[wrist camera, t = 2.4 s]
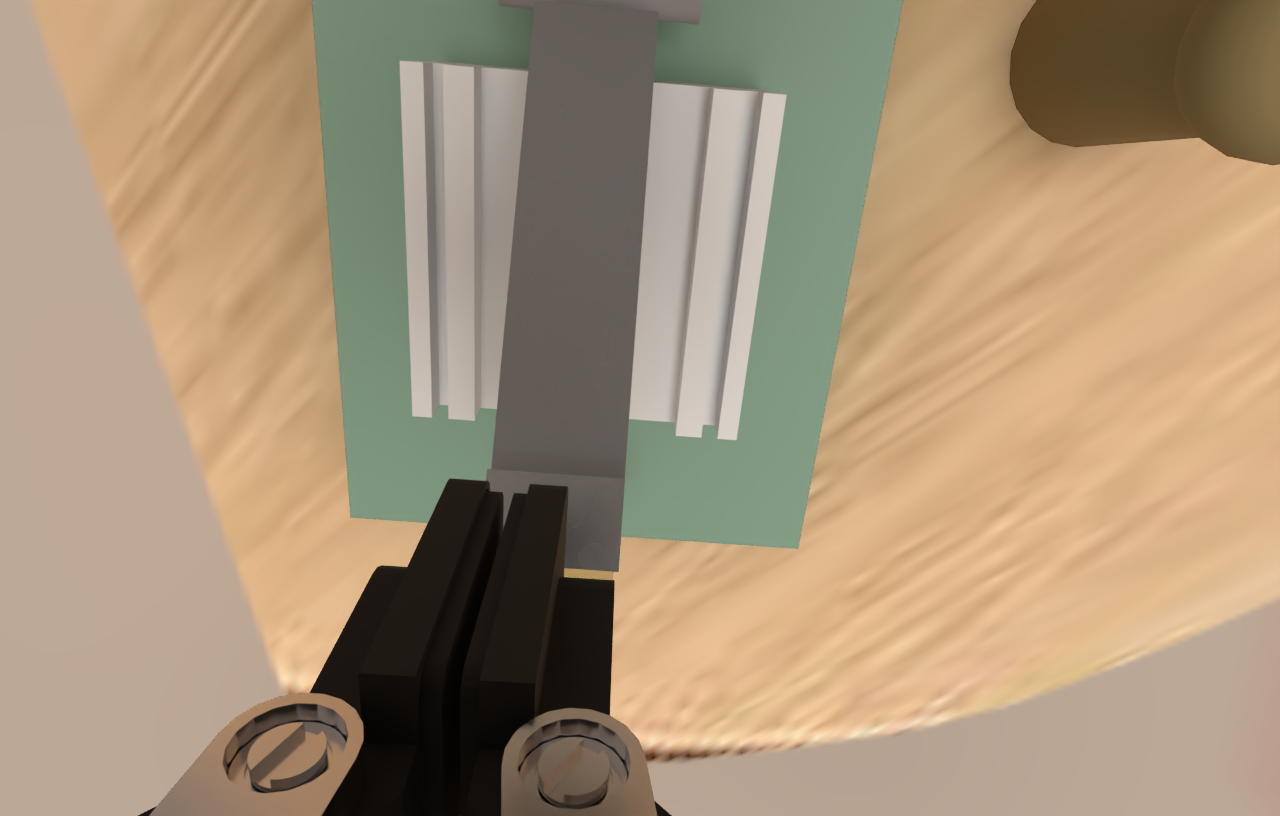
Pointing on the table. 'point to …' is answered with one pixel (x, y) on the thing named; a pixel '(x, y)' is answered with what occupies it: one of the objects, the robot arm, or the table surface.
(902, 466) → the table surface
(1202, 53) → the cork
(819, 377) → the board
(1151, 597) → the table surface
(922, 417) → the table surface
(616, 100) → the strap
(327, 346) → the table surface
